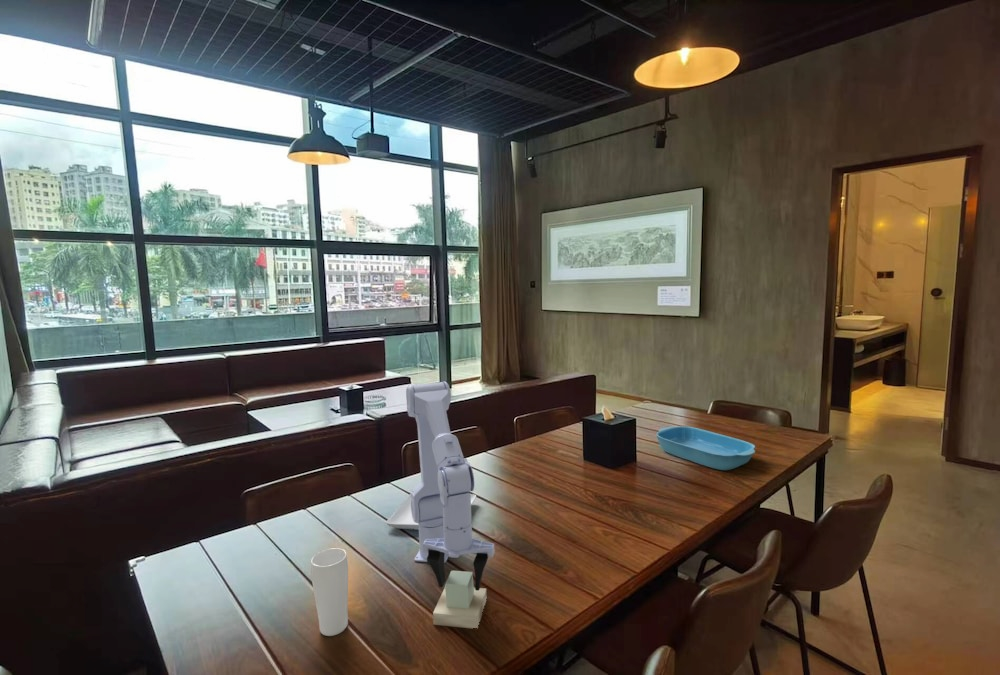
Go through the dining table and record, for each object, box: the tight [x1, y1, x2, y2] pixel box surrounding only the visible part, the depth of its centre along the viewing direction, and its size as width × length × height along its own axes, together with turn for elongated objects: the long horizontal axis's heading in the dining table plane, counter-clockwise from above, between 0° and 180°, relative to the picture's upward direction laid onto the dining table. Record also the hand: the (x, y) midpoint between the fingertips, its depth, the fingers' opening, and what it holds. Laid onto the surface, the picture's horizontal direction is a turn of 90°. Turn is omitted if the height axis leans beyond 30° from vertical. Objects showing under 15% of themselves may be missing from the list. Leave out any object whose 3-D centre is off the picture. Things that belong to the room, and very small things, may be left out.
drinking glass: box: [310, 547, 349, 637], centre depth 94 cm, size 7×7×15 cm
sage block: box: [444, 570, 475, 609], centre depth 98 cm, size 5×5×5 cm
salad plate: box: [385, 491, 477, 531], centre depth 140 cm, size 21×21×3 cm
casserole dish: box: [656, 425, 756, 471], centre depth 182 cm, size 37×22×7 cm, turn 34°
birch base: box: [432, 586, 488, 630], centre depth 99 cm, size 9×9×3 cm
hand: (460, 585), depth 98 cm, fingers open, 7 cm apart
